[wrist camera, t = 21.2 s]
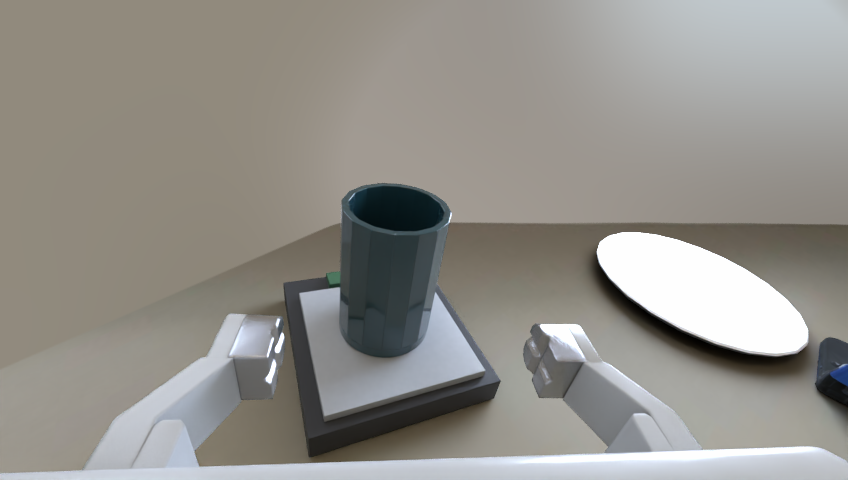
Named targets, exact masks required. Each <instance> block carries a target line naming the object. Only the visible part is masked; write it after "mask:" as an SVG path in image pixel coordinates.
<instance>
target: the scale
mask: <svg viewBox="0 0 848 480" xmlns="http://www.w3.org/2000/svg"><path fill="white" fill-rule="evenodd" d="M339 282H340V271H339V272H331V273H326V277H323V278H316V279H308V280H301V281H294V282H286V283H284V296H285V304H286V311H287V317H288V324H289V330H290V337H291V343H292V350H293V356H294V363H295V369H296V376H297V382H298V389H299V395H300V402H301V408H302V415H303V422H304V428H305V435H306V441H307V448H308V454H309V457H312V456H315V455H318V454H322V453H325V452H328V451H331V450H334V449H337V448H340V447H343V446H346V445H350V444H353V443H356V442H359V441H362V440H365V439H368V438H371V437H374V436H377V435H381V434H384V433H387V432H390V431H393V430H396V429H399V428H402V427H405V426H408V425H412V424H415V423H418V422H421V421H424V420H427V419H430V418H433V417H436V416H440V415H443V414H446V413H449V412H452V411H455V410H458V409H461V408H464V407H467V406H471V405H474V404H477V403H480V402H483V401H486V400H489V399H492V398H494V396H495V394H496V391H497V389H498V386H499V384H500V379H499V378H498V376H497V375H496V373H495V371H494V370H493V368H492V367H491V365H490V364H489V362H488V361H487V359H486V358H485V356H484V355H483V353H482V352H481V350H480V349H479V347H478V346H477V344H476V343H475V341H474V340H473V338H472V336H471V335H470V333H469V332H468V330H467V329H466V327H465V326H464V324H463V323H462V321H461V320H460V318H459V317H458V315H457V314H456V312H455V311H454V309H453V308H452V306H451V304H450V303H449V301H448V300H447V298H446V297H445V295H444V294H443V292H442V291H441V289H440V288H439V286H438V285H437V287H436V291H435V296H434V301H433V306H432V311H431V316H430V320H429V325H428V330H427V334H426V336H425V338H424V340H423V341H422V343H421V344H420V345H419V346H418V347H417V348H415V349H414V350H412V351H411V352H409V353H407V354H404V355H401V356H397V357H390V358H382V357H374V356H369V355H366V354H363V353H361V352H359V351H357V350H356V349H354V348H353V347H351V346H350V345H349V344H348V343H347V342H346V341H345V339H344V338H343V336H342V334H341V332H340V329H339Z"/></svg>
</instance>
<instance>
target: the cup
mask: <svg viewBox="0 0 848 480" xmlns="http://www.w3.org/2000/svg"><path fill="white" fill-rule="evenodd" d="M450 218H451V211H450V209H449V207H448V206H447V204H446V203H445V202H444V201H443V200H441V199H440V198H438V197H437V196H436V195H434V194H432V193H430V192H427V191H425V190H422V189H419V188H417V187H412V186H407V185H402V184H387V183H378V184H371V185H364V186H361V187H359V188H356V189H354V190H351V191H349V192H348V193H347V195H346V196H345V197H344V198H343V199H342V202H341V241H340V282H339V329H340V332H341V334H342V336H343V338H344V339H345V341H346V342H347V343H348V344H349V345H350V346H351V347H353V348H354V349H356V350H357V351H359V352H361V353H363V354H366V355H369V356H374V357H382V358H390V357H397V356H401V355H404V354H407V353H409V352H411V351H412V350H414V349H415V348H417V347H418V346H419V345H420V344H421V343H422V341H423V340H424V338H425V336H426V334H427V330H428V325H429V320H430V316H431V311H432V306H433V301H434V296H435V291H436V287H437V282H438V277H439V272H440V267H441V262H442V258H443V253H444V248H445V243H446V238H447V233H448V228H449V224H450Z"/></svg>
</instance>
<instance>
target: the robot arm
mask: <svg viewBox="0 0 848 480" xmlns="http://www.w3.org/2000/svg"><path fill="white" fill-rule="evenodd" d="M283 326H284V322H283V317H282V316H270V315H251V314H247V315H245V314H229V315H228V316H226V317H225V319H224V321H223V323H222V325H221V328H220V330H219V332H218V334H217V336H216V338H215V340H214V342H213V344H212V346H211V348H210V350H209V352H208V354H207V356H206V358H199V359H198V360H196V361H195V362H193V363H192V364H191V365H189V366H188V367H186V368H185V369H184V370H182V371H181V372H179V373H178V374H177V375H175V376H174V377H172V378H171V379H170V380H168V381H167V382H165V383H164V384H162V385H161V386H160V387H158V388H157V389H155V390H154V391H153V392H151V393H150V394H148V395H147V396H146V397H144V398H143V399H141V400H140V401H139V402H137V403H136V404H134V405H133V406H132V407H130V408H129V409H127V410H126V411H125V412H123V413H122V414H120V415H119V416H118V417H116V418H115V419H114V420H113V422H112V423H111V425H110V426H109V428H108V429H107V431H106V433H105V434H104V436H103V437H102V439H101V440H100V442H99V444H98V445H97V447H96V448H95V450H94V451H93V453H92V455H91V456H90V458H89V459H88V461H87V462H86V464H85V466H84V467H83V469H82V470H81V471H53V472H22V473H0V480H848V462H847V461H845V460H844V459H842V458H840V457H838V456H836V455H834V454H833V453H831V452H829V451H827V450H824V449H821V448H817V447H780V448H751V449H721V450H703V449H702V447H701V446H700V445H699V443H698V442H697V441H696V439H695V438H694V436H693V435H692V434H691V432H690V431H689V429H688V428H687V427H686V425H685V424H684V422H683V421H682V420H681V418H680V417H679V416H678V414H677V413H676V412H675V411H674V410H672V409H671V408H670V407H668V406H667V405H665V404H664V403H663V402H661V401H660V400H658V399H657V398H656V397H654V396H653V395H651V394H650V393H649V392H647V391H646V390H645V389H643V388H642V387H640V386H639V385H638V384H636V383H635V382H633V381H632V380H631V379H629V378H628V377H626V376H625V375H624V374H622V373H621V372H619V371H618V370H617V369H615V368H614V367H612V366H611V365H610V364H608V363H606V362H602V360H601V359H600V357H599V355H598V354H597V352H596V351H595V349H594V347H593V346H592V344H591V343H590V341H589V339H588V338H587V336H586V335H585V333H584V331H583V330H582V328H581V327H580V326H579V325H577V324H535V325H533V326H532V329H531V331H530V332H531V335H532V337H531V338H529V339H528V340H527V341H526V343H525V346H524V353H523V356H524V362H525V364H526V367H527V369H528V370H529V371H530V372H532V373H533V374H534V375H533V378H532V382H533V384H534V387H535V389H536V392H537V394H538V397H539V398H563V400H564V401H565V402H566V403H567V404H568V406H569V407H570V408H571V409H572V410H573V411H574V412H575V413H576V414H577V415H578V416H579V417H580V418H581V419H582V420H583V421H584V422H585V423H586V424H587V425H588V426H589V427H590V428H591V429H592V430H593V431H594V432H595V433H596V434H597V435H598V437H599V438H600V439H601V440H602V441H603V442H604V443H605V444H606V445H607V446H608V448H607V449H606V451H605V452H604V453H600V454H569V455H539V456H510V457H480V458H450V459H420V460H390V461H359V462H329V463H298V464H268V465H237V466H207V467H199V464H198V462H197V459H196V456H195V453H194V451H195V450H196V449H197V448H198V447H199V446H200V445H201V444H202V443H203V442H204V441H205V440H206V439H207V438H208V437H209V435H210V434H211V433H212V432H213V431H214V430H215V429H216V428H217V427H218V426H219V425H220V424H221V423H222V422H223V421H224V420H225V419H226V418H227V417H228V416H229V414H230V413H231V412H232V411H233V410H234V409H235V408H236V407H237V406H238V405H239V404H240V403H241V400H262V399H273V395H274V392H275V388H276V384H277V381H278V375H277V370H278V369H279V368H280V367H281V366H282V362H283V357H284V350H285V335H284V334H282V330H283Z"/></svg>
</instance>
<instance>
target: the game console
mask: <svg viewBox="0 0 848 480" xmlns="http://www.w3.org/2000/svg"><path fill="white" fill-rule="evenodd" d="M815 385H816V387H817V389H818V390H820V391H821V392H822V393H824V394H826V395H827V396H829V397H831V398H833V399H835V400H837V401H839V402H840V403H844V404H845V405H847V406H848V343H846V342H844V341H841V340H839V339H836V338H830V337H829V338H826V339H824V340H823V341H822V342H821V344H820V350H819V360H818V372H817V382H816V383H815Z"/></svg>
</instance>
